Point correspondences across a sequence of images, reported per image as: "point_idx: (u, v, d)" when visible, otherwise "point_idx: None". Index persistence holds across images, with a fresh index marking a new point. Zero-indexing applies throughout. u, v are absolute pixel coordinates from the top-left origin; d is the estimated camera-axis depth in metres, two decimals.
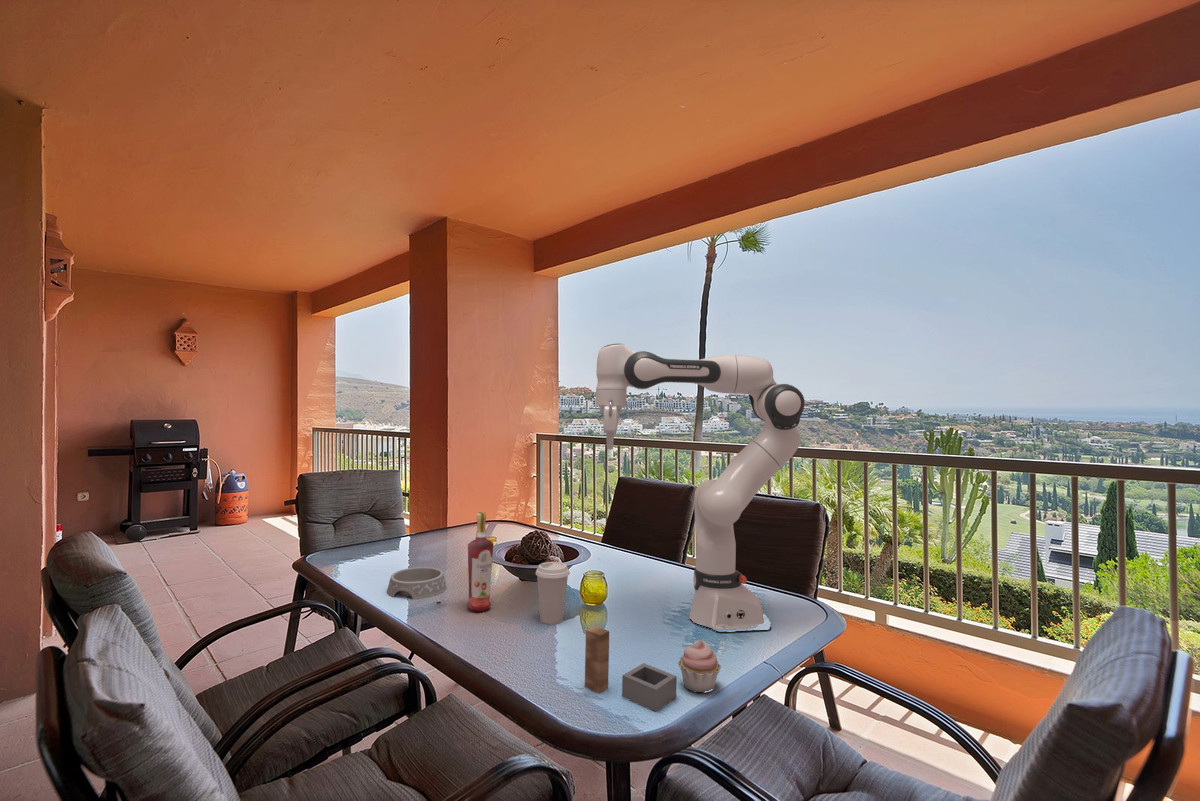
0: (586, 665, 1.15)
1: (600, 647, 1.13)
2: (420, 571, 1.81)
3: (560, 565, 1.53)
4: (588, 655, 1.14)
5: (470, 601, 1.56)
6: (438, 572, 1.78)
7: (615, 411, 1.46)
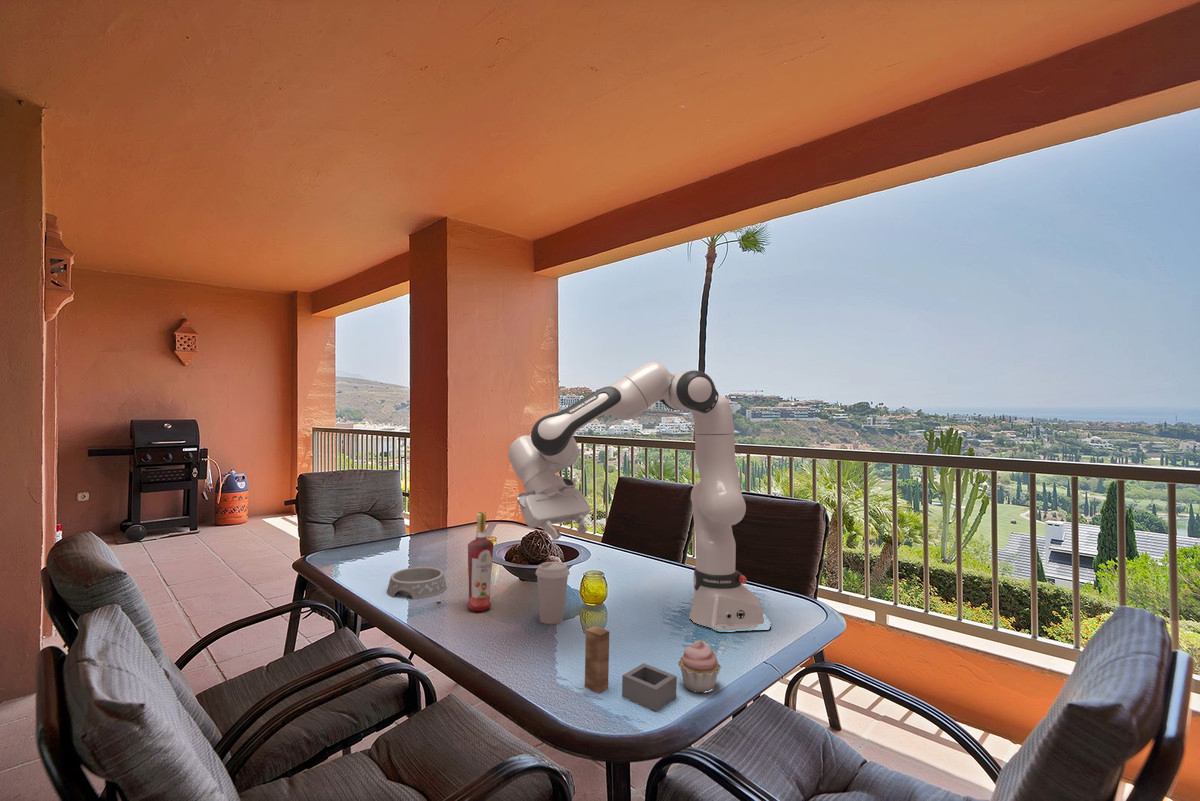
0: (586, 665, 1.15)
1: (600, 647, 1.13)
2: (420, 571, 1.81)
3: (560, 565, 1.53)
4: (588, 655, 1.15)
5: (470, 601, 1.56)
6: (438, 572, 1.78)
7: (526, 500, 1.31)
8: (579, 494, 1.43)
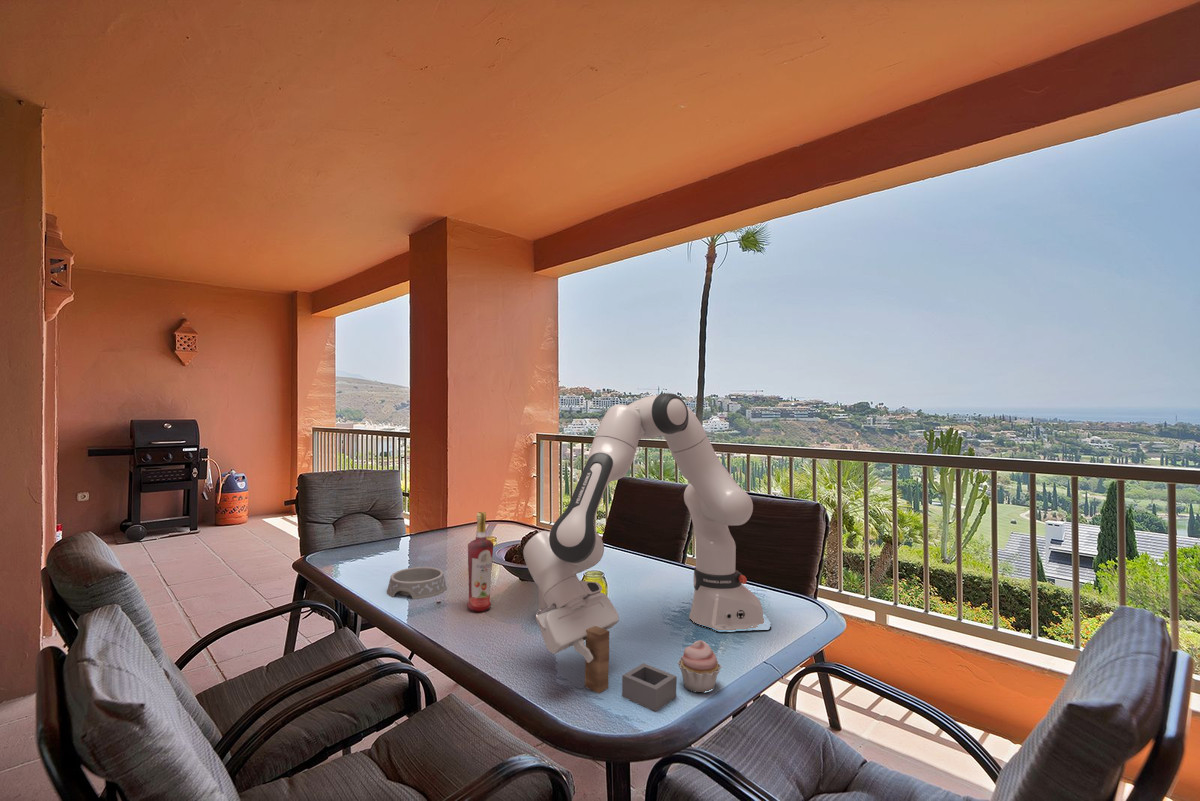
0: (586, 665, 1.15)
1: (600, 647, 1.13)
2: (420, 571, 1.81)
3: None
4: None
5: (470, 601, 1.56)
6: (438, 572, 1.78)
7: (546, 620, 1.12)
8: (606, 600, 1.24)
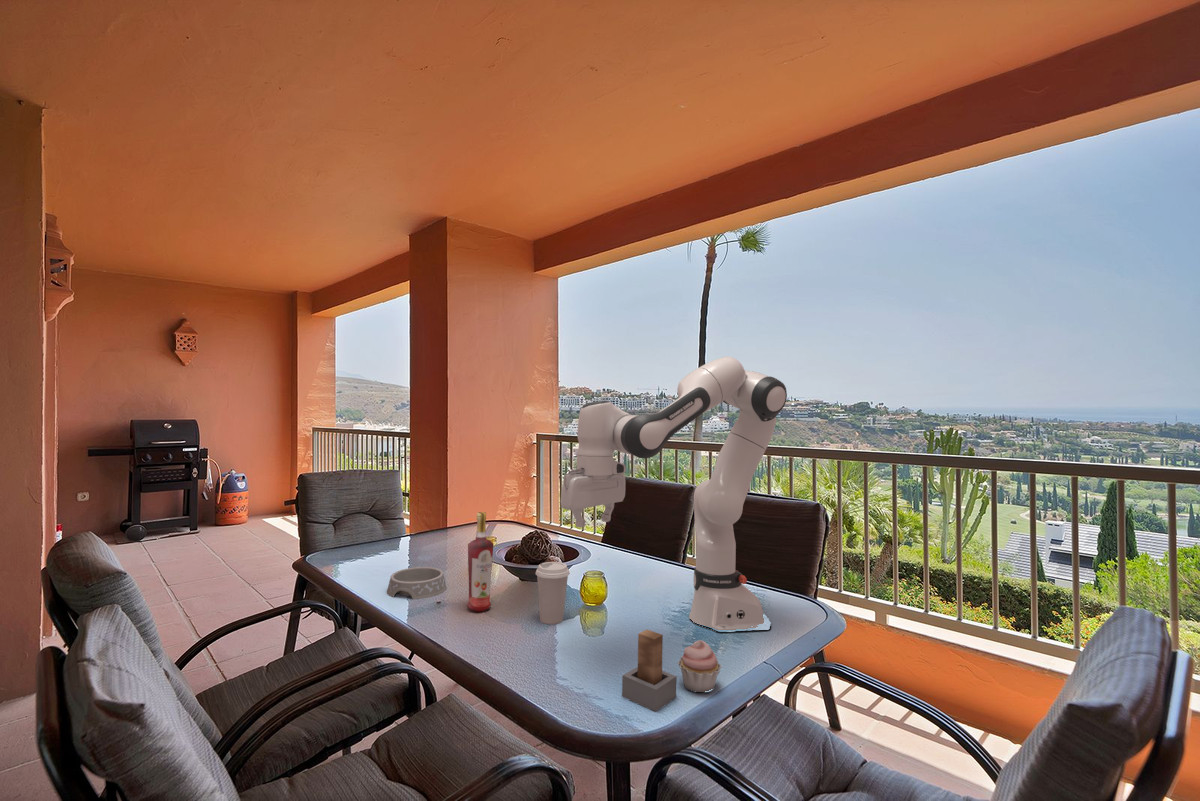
0: (639, 670, 1.11)
1: (654, 651, 1.09)
2: (420, 571, 1.81)
3: (560, 565, 1.53)
4: (641, 659, 1.11)
5: (470, 601, 1.56)
6: (438, 572, 1.78)
7: (572, 484, 1.24)
8: (622, 481, 1.37)
